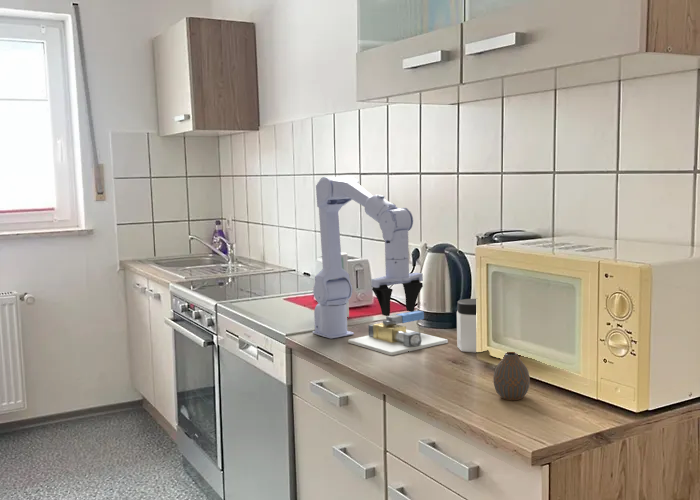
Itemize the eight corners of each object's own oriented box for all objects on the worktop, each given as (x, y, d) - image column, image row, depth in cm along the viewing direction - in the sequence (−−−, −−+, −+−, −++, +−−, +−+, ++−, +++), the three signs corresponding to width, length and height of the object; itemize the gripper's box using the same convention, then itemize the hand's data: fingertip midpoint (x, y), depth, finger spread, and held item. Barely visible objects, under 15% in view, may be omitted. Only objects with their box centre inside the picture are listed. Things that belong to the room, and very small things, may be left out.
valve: (366, 335, 187) (366, 322, 187) (380, 333, 190) (379, 319, 190) (410, 348, 173) (409, 333, 172) (424, 344, 176) (424, 330, 175)
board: (348, 342, 184) (348, 339, 184) (402, 331, 195) (402, 328, 195) (391, 355, 169) (391, 352, 169) (447, 342, 180) (447, 339, 180)
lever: (388, 326, 180) (388, 318, 180) (380, 324, 183) (380, 316, 183) (424, 319, 188) (424, 311, 187) (416, 317, 190) (416, 310, 190)
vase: (507, 405, 131) (507, 359, 130) (486, 395, 137) (486, 351, 136) (537, 399, 134) (537, 355, 133) (515, 389, 140) (514, 347, 139)
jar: (472, 354, 168) (472, 306, 166) (450, 348, 174) (449, 301, 173) (499, 348, 172) (498, 301, 171) (476, 342, 179) (475, 297, 178)
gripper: (383, 262, 161) (384, 319, 163) (430, 256, 169) (431, 311, 171) (365, 260, 167) (367, 315, 168) (412, 254, 175) (413, 307, 177)
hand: (398, 313), depth 170 cm, fingers open, 7 cm apart
